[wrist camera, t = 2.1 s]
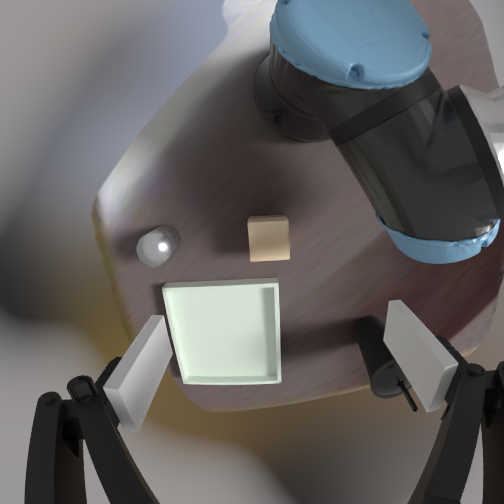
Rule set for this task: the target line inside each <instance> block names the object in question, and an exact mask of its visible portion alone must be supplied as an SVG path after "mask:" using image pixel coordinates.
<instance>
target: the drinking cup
mask: <svg viewBox="0 0 504 504" xmlns="http://www.w3.org/2000/svg"><path fill="white" fill-rule="evenodd" d="M384 333H385V325H384V324H383V323H382V322H381V321H380V320H379V319H378V318H377V317H375V316H367V317H364V318H363V319H361V320H360V321H359V322H358V323H357V325H356V327H355V335H356V338H357V341H358V344H359V347H360V350H361V353H362V356H363V359H364V362H365V365H366V368H367V371H368V374H369V378H370V381H371V383H370V387H371V390H372V392H373V394H374V395H376V396H377V397H379V398H384V399H385V398H393V397H396V396H399V395H401V394H404V396H405V397H406V399H407V401H408V403H409V405H410V407H411V408H412V410H413V411H414V412H415V411H417V410H418V408H417V406H416V404H415V402H414V400H413V399H412V397H411V395H410V393H409V392H408V390H409V389H410V388H411V387H412V385H411V384H410V382H409V381H408V379H407V377H406V376H405V374H404V372H403V371H402V369H401V368H400V366H399V364H398V363H397V361H396V360H395V358H394V356H393V355H392V353H391V352H390V350H389V349H388V347H387V346H386V344H385V342H384V341H383V339H384Z"/></svg>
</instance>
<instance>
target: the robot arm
mask: <svg viewBox="0 0 504 504" xmlns="http://www.w3.org/2000/svg"><path fill="white" fill-rule="evenodd" d="M270 34H271V35H270V52H269V53H268V54H267V55H266V56H265V57H264V59H263V60H262V61H261V63H260V65H259V67H258V69H257V72H256V75H255V81H254V91H255V98H256V102H257V105H258V108H259V110H260V112H261V113H262V115H263V117H264V118H265V119H266V121H267V122H268V123H269V124H270V125H271V126H272V127H274V128H275V129H276V130H277V131H279V132H280V133H282V134H284V135H286V136H288V137H290V138H293V139H296V140H299V141H305V142H322V141H326V140H330V139H332V140H333V142H334V143H335V146H336V147H337V149H338V150H339V152H340V153H341V155H342V156H343V158H344V159H345V161H346V163H347V164H348V166H349V167H350V169H351V171H352V172H353V174H354V175H355V177H356V179H357V180H358V182H359V184H360V185H361V187H362V189H363V190H364V192H365V194H366V196H367V197H368V199H369V201H370V202H371V204H372V206H373V208H374V210H375V213H376V217H377V219H378V221H379V222H380V223H381V225H382V226H384V227H385V228H386V230H387V231H388V233H389V235H390V237H391V238H392V240H393V242H394V244H395V245H396V246H397V248H398V249H399V250H400V251H402V252H403V253H405V254H406V255H407V256H409V257H410V258H412V259H415V260H418V261H421V262H425V263H433V264H443V263H452V262H457V261H461V260H464V259H467V258H470V257H472V256H474V255H476V254H478V253H479V252H480V250H481V247H482V246H483V247H487V246H488V245H489V244H490V243H491V242H492V241H493V240H494V238H495V237H496V235H497V232H498V228H499V222H500V219H501V218H504V86H502V87H499V88H497V89H495V90H492V91H490V92H486V93H482V92H480V91H477V90H475V89H473V88H471V87H468V86H466V85H463V84H460V85H458V86H455V87H453V88H451V89H449V90H447V91H444V90H443V89H442V87H441V85H440V84H439V82H438V81H437V79H436V77H435V76H434V74H433V73H432V71H431V70H430V68H429V67H428V63H429V60H430V57H431V52H432V46H431V43H430V42H428V38H429V37H430V33H429V30H428V28H427V26H426V24H425V22H424V20H423V19H422V17H421V15H420V14H419V13H418V11H417V10H416V9H415V8H414V7H413V6H412V4H411V3H410V2H408V1H407V0H278V1H277V4H276V7H275V12H274V14H273V15H272V20H271V22H270ZM383 341H384V342H385V344H386V346H387V347H388V349H389V350H390V352H391V353H392V355H393V356H394V358H395V360H396V361H397V363H398V364H399V366H400V368H401V369H402V371H403V372H404V374H405V376H406V377H407V379H408V381H409V382H410V384H411V385H412V387H413V389H414V390H415V392H416V394H417V395H418V397H419V399H420V400H421V402H422V404H423V406H424V407H425V409H426V410H427V412H431V411H434V410H437V409H440V408H441V406H442V403H443V401H444V399H445V401H446V402H447V404H448V405H447V407H446V409H445V411H444V414H443V415H442V418H441V420H442V422H441V426H440V428H439V432H438V434H437V438H436V440H435V443H434V446H433V448H432V451H431V453H430V456H429V458H428V461H427V463H426V466H425V468H424V470H423V473H422V475H421V478H420V479H419V482H418V484H417V486H416V488H415V490H414V492H413V494H412V496H411V498H410V500H409V502H408V504H460V499H461V496H462V493H463V490H464V488H465V484H466V481H467V478H468V475H469V471H470V468H471V464H472V460H473V456H474V452H475V448H476V443H477V438H478V433H479V428H480V423H481V431H482V444H483V472H484V473H483V501H482V504H504V361H502V362H500V363H499V364H498V367H497V369H496V370H492V371H485V369H484V368H483V367H482V366H480V365H478V364H472V363H470V364H468V363H467V361H466V360H465V359H464V358H463V357H462V356H461V355H460V354H459V352H458V351H457V350H455V348H454V347H453V346H451V344H450V343H449V342H448V341H447V340H446V339H445V338H443V337H441V336H439V335H438V336H434V335H433V334H432V333H431V332H430V331H429V330H428V329H427V327H426V326H425V325H424V324H423V323H422V322H421V321H420V320H419V319H418V318H417V317H416V316H415V315H414V314H413V313H412V311H411V310H410V309H409V308H408V307H407V306H406V305H405V304H404V303H403V302H402V301H401V300H394V301H389V305H388V313H387V320H386V326H385V333H384V339H383ZM172 354H173V353H172V349H171V345H170V341H169V337H168V333H167V328H166V324H165V319H164V315H151V317H150V318H149V320H148V321H147V323H146V324H145V325H144V327H143V328H142V330H141V331H140V333H139V334H138V336H137V337H136V338H135V340H134V341H133V343H132V344H131V346H130V347H129V349H128V350H127V352H126V353H125V355H124V356H123V357H116V358H115V359H113V360H112V361H110V362H109V364H108V365H107V367H106V369H105V370H104V371H103V372H102V374H101V375H100V377H99V378H98V380H97V381H96V382H95V384H94V382H93V380H92V378H91V377H89V376H84V375H82V376H77V377H75V378H73V379H72V380H70V381H69V382H68V384H67V390H68V392H69V394H70V396H71V398H72V399H70V400H62V398H61V397H60V395H59V394H58V393H56V392H47V393H45V394H43V395H42V396H41V397H40V398H39V399H38V402H37V406H36V411H35V416H34V421H33V426H32V432H31V438H30V445H29V452H28V460H27V469H26V482H25V504H87V499H86V490H85V479H84V460H83V439H85V442H86V444H87V448H88V450H89V453H90V456H91V459H92V462H93V464H94V467H95V469H96V472H97V474H98V477H99V479H100V481H101V484H102V486H103V488H104V491H105V493H106V495H107V497H108V499H109V502H110V504H160V503H159V502H158V500H157V499H156V497H155V496H154V494H153V492H152V491H151V490H150V488H149V486H148V484H147V483H146V481H145V479H144V478H143V476H142V474H141V473H140V471H139V469H138V467H137V466H136V464H135V462H134V460H133V458H132V456H131V455H130V453H129V451H128V449H127V447H126V445H125V443H124V441H123V439H122V437H121V435H120V433H119V431H118V429H117V427H118V425H119V423H121V425H122V427H123V429H124V430H128V431H133V432H139V430H140V427H141V425H142V423H143V420H144V418H145V416H146V413H147V411H148V409H149V406H150V404H151V402H152V399H153V397H154V395H155V393H156V390H157V388H158V386H159V383H160V381H161V379H162V377H163V374H164V372H165V370H166V368H167V365H168V363H169V361H170V359H171V356H172Z"/></svg>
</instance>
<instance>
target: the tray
mask: <svg viewBox="0 0 504 504" xmlns="http://www.w3.org/2000/svg"><path fill="white" fill-rule="evenodd" d="M162 291H163V296H164V302H165V307H166V311H167V316H168V321H169V326H170V330H171V335H172V339H173V343H174V347H175V352H176V356H177V360H178V364H179V368H180V371H181V375H182V379H183V383H184V384H208V385H243V384H271V383H281V350H280V315H279V288H278V278H277V277H276V278H258V279H240V280H219V281H196V282H169V283H166V284H165V285H164V286H163V287H162Z"/></svg>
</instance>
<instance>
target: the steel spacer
mask: <svg viewBox="0 0 504 504" xmlns="http://www.w3.org/2000/svg"><path fill="white" fill-rule="evenodd" d="M179 245H180V237H179V234H178V232H177V231H176V230H175V229H174V228H173V227H171V226H168V225H162V226H159V227H158V228H156V229H154V230H153V231H151V232H149V233H148V234H146V235H144V236H143V237H141V238H140V240H139V241H138V243H137V254H138V257H139V259H140V260H141V261H142V262H143V263H144V264H145V265H147V266H150V267H157V266H160V265H162V264H163V263H164V262H165V261H166V260H167V259H168V258H169V257H170V256H171V255H172V254H173V253H174V252H175V251H176V250H177V249H178V247H179Z"/></svg>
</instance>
